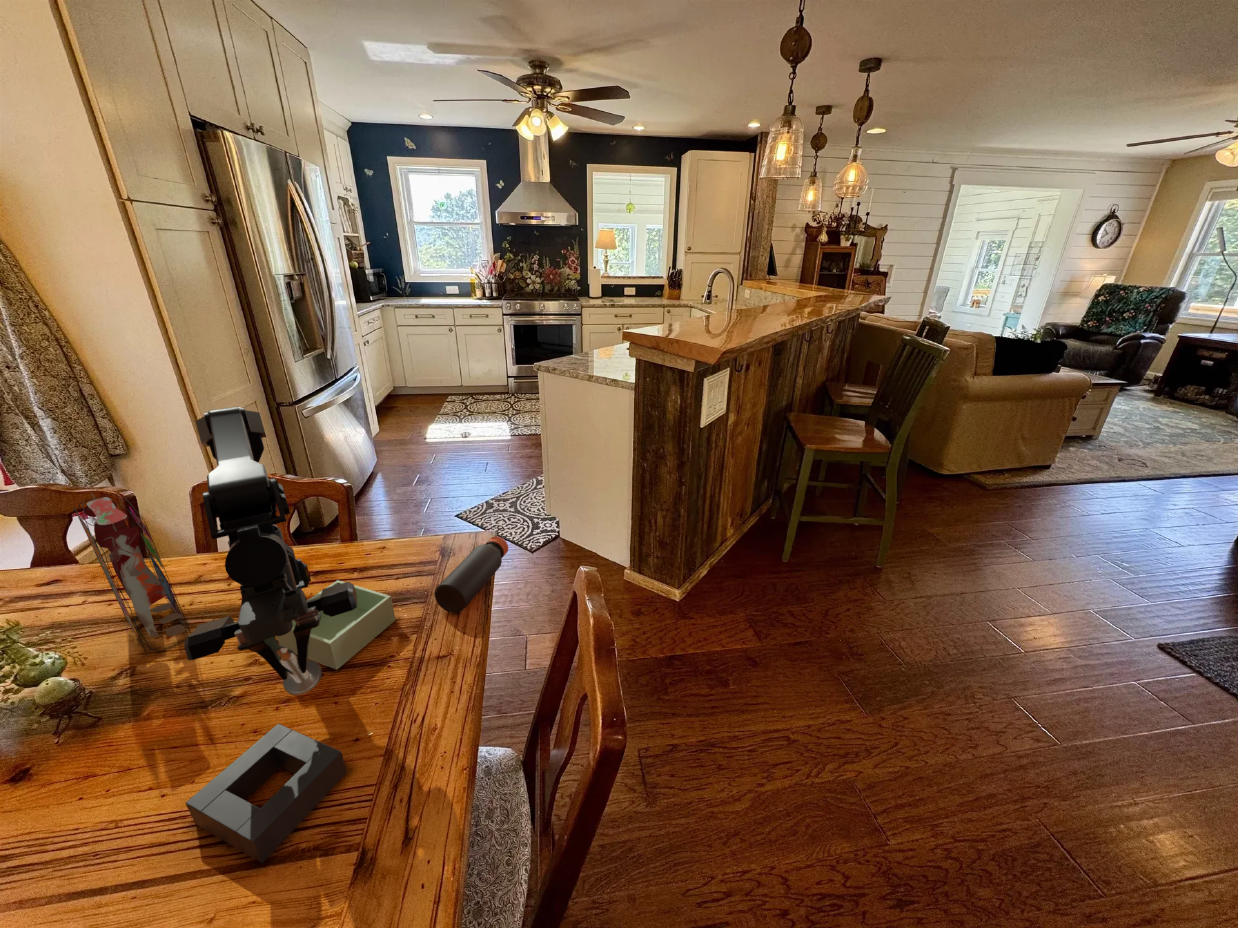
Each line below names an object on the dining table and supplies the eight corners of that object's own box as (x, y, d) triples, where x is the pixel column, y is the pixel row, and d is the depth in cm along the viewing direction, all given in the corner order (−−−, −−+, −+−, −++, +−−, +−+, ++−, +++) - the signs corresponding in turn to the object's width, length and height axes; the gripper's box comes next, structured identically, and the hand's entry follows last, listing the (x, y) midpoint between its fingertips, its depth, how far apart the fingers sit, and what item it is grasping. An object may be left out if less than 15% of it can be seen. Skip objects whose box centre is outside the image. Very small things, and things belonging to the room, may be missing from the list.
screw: (326, 690, 73) (288, 704, 71) (322, 660, 75) (285, 673, 73) (304, 658, 63) (259, 673, 61) (300, 624, 66) (257, 638, 64)
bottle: (469, 597, 92) (516, 542, 110) (439, 578, 92) (491, 527, 110) (458, 620, 95) (506, 563, 113) (429, 601, 95) (481, 548, 113)
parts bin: (280, 648, 86) (272, 623, 84) (343, 603, 98) (337, 579, 95) (336, 669, 82) (329, 643, 80) (395, 619, 93) (391, 595, 91)
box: (115, 600, 97) (63, 489, 88) (155, 585, 102) (110, 478, 92) (148, 658, 84) (91, 534, 74) (193, 638, 88) (145, 519, 79)
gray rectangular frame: (195, 824, 60) (184, 802, 58) (285, 743, 70) (278, 722, 68) (262, 863, 56) (252, 841, 54) (347, 771, 66) (341, 751, 64)
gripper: (150, 611, 54) (191, 738, 56) (340, 560, 62) (370, 672, 65) (183, 584, 64) (217, 693, 66) (343, 543, 72) (369, 641, 74)
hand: (295, 675), depth 68 cm, fingers closed on screw, 2 cm apart
